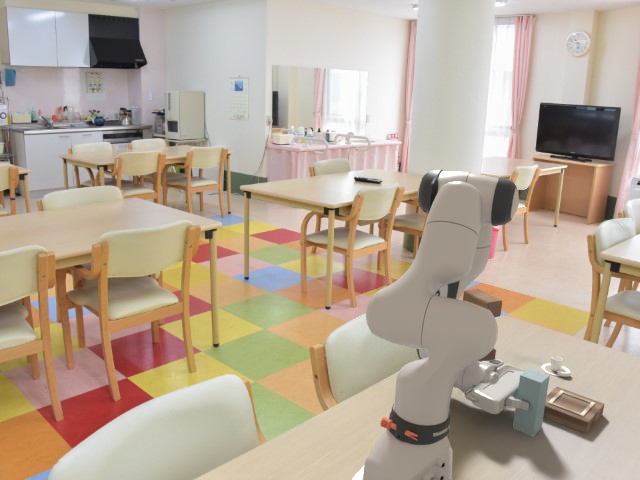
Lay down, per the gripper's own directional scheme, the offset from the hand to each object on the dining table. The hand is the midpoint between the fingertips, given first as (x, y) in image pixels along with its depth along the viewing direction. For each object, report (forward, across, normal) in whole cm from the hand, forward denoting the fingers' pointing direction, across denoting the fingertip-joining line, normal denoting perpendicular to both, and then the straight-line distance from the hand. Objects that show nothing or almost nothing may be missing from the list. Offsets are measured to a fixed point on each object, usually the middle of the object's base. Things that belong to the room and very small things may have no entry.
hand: (534, 401), depth 140 cm
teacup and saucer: (-8, +33, +8) cm, 35 cm away
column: (-1, 0, +8) cm, 8 cm away
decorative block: (-28, +25, +8) cm, 38 cm away
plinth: (+4, +14, +8) cm, 16 cm away
